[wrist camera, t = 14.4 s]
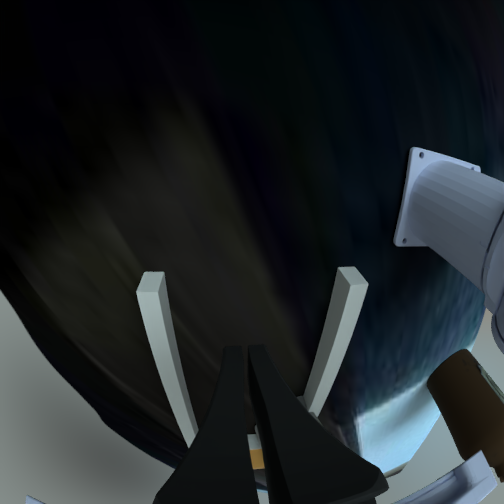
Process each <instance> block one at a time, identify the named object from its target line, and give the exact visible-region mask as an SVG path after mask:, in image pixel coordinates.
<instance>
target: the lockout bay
mask: <svg viewBox="0 0 504 504" xmlns="http://www.w3.org/2000/svg"><path fill="white" fill-rule="evenodd" d="M367 287H368V283H367V281H366V280H365V279H364V278H363V276H362V275H361V274H360V273H359V271H358V270H357V269H356V268H355V267H338V269H337V274H336V279H335V283H334V288H333V292H332V296H331V300H330V305H329V309H328V313H327V317H326V321H325V324H324V328H323V332H322V336H321V339H320V343H319V346H318V350H317V353H316V357H315V360H314V364H313V367H312V370H311V373H310V377H309V380H308V383H307V386H306V389H305V392H304V395H303V396H304V399H305V402H306V405H307V410H308V412H314V414H315V415H316V417H318V415H319V413H320V411H321V409H322V407H323V405H324V402H325V400H326V398H327V396H328V394H329V391H330V389H331V387H332V384H333V382H334V380H335V377H336V375H337V373H338V370H339V368H340V365H341V363H342V360H343V358H344V355H345V353H346V350H347V347H348V345H349V342H350V339H351V336H352V334H353V331H354V328H355V325H356V322H357V319H358V316H359V313H360V310H361V307H362V304H363V300H364V297H365V294H366V291H367ZM136 293H137V297H138V301H139V305H140V310H141V313H142V317H143V321H144V325H145V329H146V332H147V336H148V339H149V343H150V346H151V349H152V353H153V356H154V359H155V362H156V365H157V368H158V371H159V374H160V377H161V380H162V383H163V386H164V389H165V391H166V394H167V397H168V400H169V402H170V405H171V407H172V410H173V413H174V415H175V417H176V420H177V422H178V425H179V427H180V429H181V432H182V434H183V436H184V439H185V441H186V443H187V445H188V448H189V447H190V445H191V444H192V442H193V440H194V438H195V436H196V434H197V432H198V427H197V423H196V420H195V416H194V413H193V409H192V406H191V402H190V398H189V394H188V391H187V387H186V383H185V379H184V374H183V370H182V366H181V362H180V357H179V353H178V348H177V343H176V338H175V333H174V328H173V323H172V318H171V312H170V307H169V301H168V295H167V288H166V282H165V275H164V272H144V274H143V277H142V279H141V282H140V284H139V286H138V289H137V291H136ZM248 442H249V448H250V455H251V461H252V466H253V469H261V468H265V467H264V460H263V453H262V447H261V442H260V440H259V438H258V436H257V434H250V435H248Z"/></svg>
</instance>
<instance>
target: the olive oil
mask: <svg viewBox="0 0 504 504" xmlns="http://www.w3.org/2000/svg"><path fill="white" fill-rule="evenodd" d="M427 387H428V389H429V391H430V393H431V395H432V397H433V398H434V400H435V402H436V404H437V406H438V408H439V410H440V412H441V414H442V416H443V418H444V420H445V422H446V424H447V426H448V428H449V430H450V433H451V435H452V437H453V439H454V442H455V444H456V447H457V449H458V451H459V454H460V456H461V457H462V458H463V459H464V460H465V461H466V460H468V459H469V458H470V457H472V456H473V455H474V454H476V453H477V452H478V451H480V450H481V451H482V453H483V455H484V457H485V459H486V461H487V463H488V465H489V467H493V468H494V469H495V472H496V474H497V476H498V477H499V478H500V481H501V482H504V394H503V392H502V391H501V390H500V389H499V387H498V386H497V385H496V384H495V382H494V381H493V380H492V378H491V377H490V376H489V375H488V374H487V373H486V371H485V370H484V369H483V367H482V366H481V365H480V364H479V363H478V361H477V360H476V359H475V358H474V357H473V356H472V354H471V353H470V352H469V351H468V350H467V349H463V350H460V351H458V352H456V353H455V354H453V355H452V356H450V357H449V358H448V359H447V360H445V361H444V362H443V363H442V364H441V365H440V366H439V367H438V368H437V369H436V370H435V371H434V372H433V374H432V375H431V376H430V378H429V380H428V382H427Z"/></svg>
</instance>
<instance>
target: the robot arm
mask: <svg viewBox="0 0 504 504" xmlns="http://www.w3.org/2000/svg"><path fill="white" fill-rule="evenodd" d="M420 153H421V156H420V157H419V154H420ZM404 238H405V240H404V241H403V239H404ZM402 241H403V242H402ZM393 242H394V244H395V245H396V246H429V247H430V248H431V249H433V250H434V251H435V252H436V253H438V254H439V255H440V256H441V257H443V258H444V259H445V260H446V261H448V262H449V263H450V264H451V265H452V266H454V267H455V268H456V269H457V270H458V271H460V272H461V273H462V274H463V275H464V276H465V277H466V278H468V279H469V280H470V281H471V282H472V283H473V284H474V285H475V286H476V287H478V288H479V289H480V290H481V291H482V292H483V293H484V294H485V302H484V306H485V307H486V308H487V309H488V310H489V311H490V312H491V313H492V314H493V316H492V322H491V328H492V334H493V337H494V340H495V342H496V344H497V346H498V347H499V349H500V350H501V352H502V353H503V354H504V183H503V182H501V181H499V180H497V179H494V178H492V177H489V176H487V175H485V174H482V173H480V167H479V166H476V165H473V164H470V163H468V162H465V161H462V160H459V159H455V158H452V157H449V156H446V155H442V154H439V153H436V152H432V151H428V150H425V149H421V148H417V147H412V148H411V149H410V152H409V160H408V167H407V174H406V180H405V186H404V192H403V197H402V203H401V208H400V213H399V217H398V222H397V226H396V231H395V235H394V239H393ZM248 385H249V394H250V400H251V405H252V409H253V413H254V417H255V422H256V426H257V430H258V434H259V438H260V442H261V447H262V453H263V460H264V467H265V475H266V482H267V489H268V496H269V504H376V500H375V497H376V496H378V495H380V494H382V493H384V492H385V491H387V490H388V488H389V486H388V483H387V480H386V479H385V477H384V475H383V473H382V472H381V470H380V469H379V468H378V467H377V466H375V465H373V464H371V463H370V462H368V461H366V460H365V459H363V458H362V457H360V456H359V455H357V454H356V453H354V452H353V451H352V450H350V449H349V448H347V447H346V446H345V445H344V444H342V443H341V442H340V441H339V440H338V439H336V438H335V437H334V436H333V435H332V434H330V433H329V432H328V431H327V430H326V429H325V428H324V427H323V426H322V425H321V424H320V423H319V422H318V421H317V420H316V419H315V418H314V417H313V416H312V415H311V414H310V413H309V412H308V411H307V409H306V408H305V407H304V406H303V405H302V403H301V402H300V401H299V400H298V398H297V397H296V396H295V395H294V393H293V392H292V390H291V389H290V388H289V386H288V385H287V383H286V382H285V380H284V379H283V377H282V376H281V374H280V372H279V371H278V369H277V367H276V366H275V364H274V362H273V360H272V358H271V356H270V354H269V352H268V350H267V348H266V346H265V345H249V346H248ZM496 486H497V482H496V480H495V478H494V475H493V473H492V471H491V469H490V467H489V465H488V463H487V461H486V459H485V457H484V455H483V453H482V451H481V450H480V451H478V452H477V453H476V454H474V455H473V456H472V457H470V458H469V459H468V460H466V461H465V462H463V463H462V464H461V465H459V466H458V467H456V468H455V469H453V470H452V471H450V472H449V473H447V474H446V475H444V476H442V477H441V478H439V479H437V480H436V481H435V482H433V483H431V484H430V485H428V486H426V487H424V488H422V489H421V490H419V491H417V492H415V493H413V494H411V495H409V496H407V497H405V498H403V499H401V500H399V501H397V502H395V503H393V504H478V503H479V502H480V501H481V500H482V499H483V498H484V497H485V496H487V494H489V493H490V492H491V491H492V490H493V489H494V488H495V487H496ZM26 504H45V503H43V502H41V501H39V500H37V499H35V498H33V497H31V496H29V495H27V496H26ZM153 504H259V499H258V494H257V489H256V483H255V478H254V472H253V466H252V461H251V455H250V448H249V442H248V435H247V428H246V421H245V413H244V360H243V354H242V348H241V346H231V347H225V348H223V357H222V364H221V369H220V374H219V377H218V381H217V384H216V388H215V391H214V394H213V397H212V400H211V402H210V405H209V408H208V410H207V413H206V415H205V417H204V420H203V422H202V424H201V426H200V428H199V430H198V432H197V434H196V436H195V438H194V440H193V442H192V444H191V445H190V447H189V449H188V451H187V452H186V454H185V456H184V457H183V459H182V460H181V462H180V463H179V465H178V466H177V468H176V469H175V471H174V472H173V474H172V475H171V476H170V478H169V479H168V480H167V481H166V483H165V484H164V485H163V487H162V488H161V489H160V490H159V491H158V493H157V494H156V496H155V499H154V501H153Z"/></svg>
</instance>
